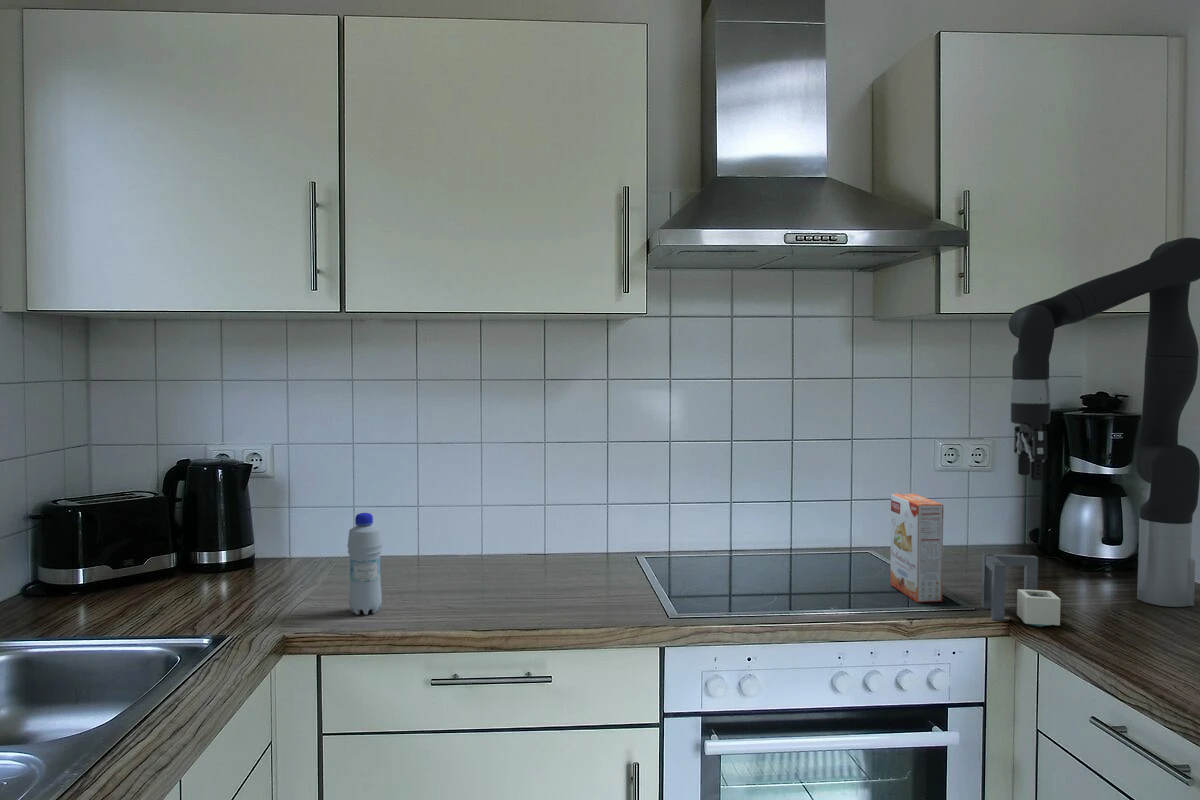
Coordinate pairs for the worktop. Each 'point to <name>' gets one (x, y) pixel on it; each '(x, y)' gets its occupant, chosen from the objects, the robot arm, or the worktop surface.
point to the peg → (1037, 624)
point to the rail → (996, 579)
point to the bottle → (364, 565)
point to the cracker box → (916, 547)
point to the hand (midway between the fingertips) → (1029, 477)
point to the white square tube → (1038, 607)
